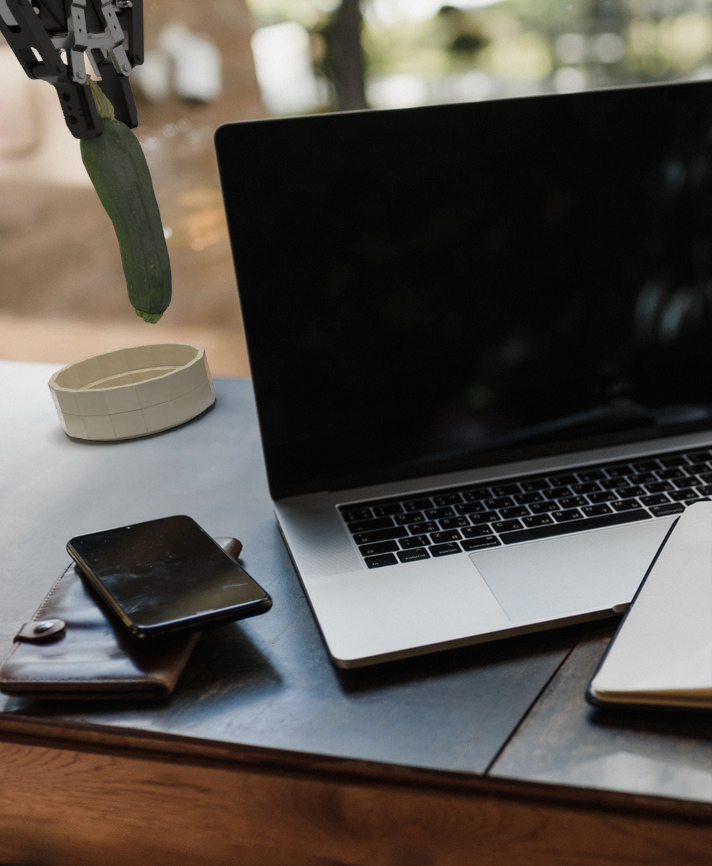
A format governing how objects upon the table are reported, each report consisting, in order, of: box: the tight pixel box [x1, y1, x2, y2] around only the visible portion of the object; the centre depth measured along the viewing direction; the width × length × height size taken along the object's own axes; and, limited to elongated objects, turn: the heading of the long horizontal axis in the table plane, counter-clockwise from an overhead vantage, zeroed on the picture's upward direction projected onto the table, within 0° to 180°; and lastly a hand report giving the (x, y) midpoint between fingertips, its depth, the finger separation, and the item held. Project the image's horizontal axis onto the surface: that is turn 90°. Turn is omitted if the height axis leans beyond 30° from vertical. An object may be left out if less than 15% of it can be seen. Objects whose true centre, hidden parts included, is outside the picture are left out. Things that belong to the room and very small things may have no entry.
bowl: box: [47, 341, 217, 442], centre depth 108 cm, size 14×14×6 cm
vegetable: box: [79, 73, 173, 325], centre depth 84 cm, size 4×4×20 cm
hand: (106, 132), depth 82 cm, fingers closed on vegetable, 3 cm apart
